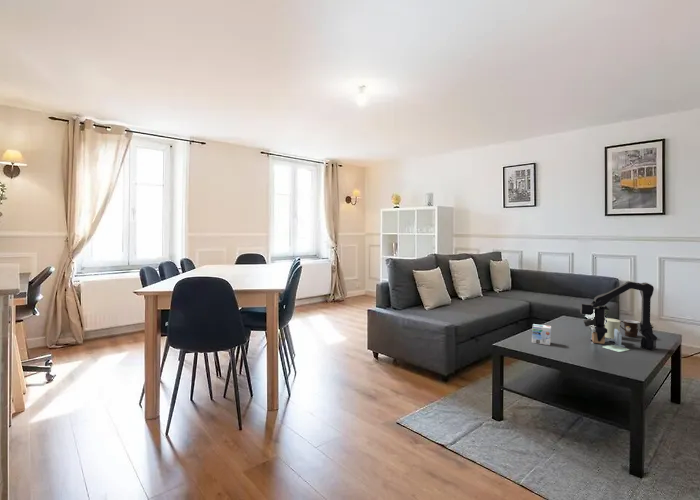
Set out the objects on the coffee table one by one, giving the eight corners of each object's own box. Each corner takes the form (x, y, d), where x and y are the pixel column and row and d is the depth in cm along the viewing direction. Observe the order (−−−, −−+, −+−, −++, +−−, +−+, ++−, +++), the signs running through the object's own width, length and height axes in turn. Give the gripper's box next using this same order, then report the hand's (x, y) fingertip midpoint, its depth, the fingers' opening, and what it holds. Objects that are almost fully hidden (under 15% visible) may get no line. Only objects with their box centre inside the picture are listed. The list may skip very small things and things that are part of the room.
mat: (629, 350, 229) (629, 349, 228) (619, 352, 224) (619, 351, 224) (612, 345, 238) (612, 344, 238) (602, 347, 233) (602, 346, 233)
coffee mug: (642, 338, 253) (643, 323, 252) (628, 337, 253) (629, 323, 252) (629, 333, 265) (630, 318, 264) (617, 332, 265) (617, 318, 264)
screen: (610, 340, 247) (611, 328, 247) (619, 341, 245) (620, 329, 245) (615, 346, 235) (615, 333, 234) (624, 347, 233) (625, 335, 232)
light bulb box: (531, 342, 241) (532, 326, 241) (532, 340, 247) (532, 323, 247) (550, 345, 236) (551, 328, 236) (550, 342, 242) (551, 325, 242)
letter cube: (591, 340, 247) (592, 330, 246) (602, 341, 244) (603, 331, 244) (593, 342, 241) (593, 333, 241) (604, 343, 239) (605, 334, 238)
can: (619, 339, 249) (620, 321, 248) (602, 337, 254) (603, 319, 253) (619, 336, 256) (620, 319, 255) (603, 334, 262) (604, 316, 261)
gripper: (582, 311, 253) (581, 334, 254) (586, 317, 236) (585, 342, 237) (602, 313, 249) (601, 336, 250) (608, 319, 232) (606, 344, 233)
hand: (598, 340), depth 242 cm, fingers closed on letter cube, 6 cm apart
